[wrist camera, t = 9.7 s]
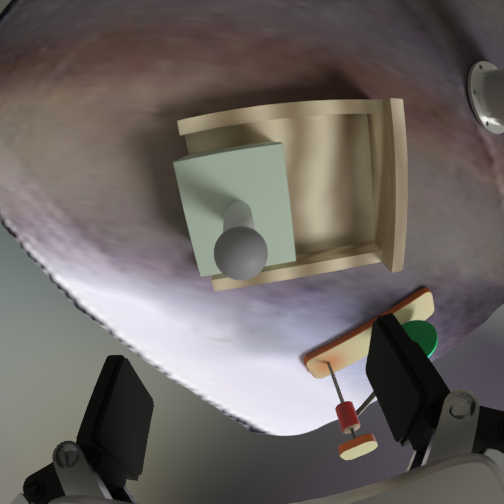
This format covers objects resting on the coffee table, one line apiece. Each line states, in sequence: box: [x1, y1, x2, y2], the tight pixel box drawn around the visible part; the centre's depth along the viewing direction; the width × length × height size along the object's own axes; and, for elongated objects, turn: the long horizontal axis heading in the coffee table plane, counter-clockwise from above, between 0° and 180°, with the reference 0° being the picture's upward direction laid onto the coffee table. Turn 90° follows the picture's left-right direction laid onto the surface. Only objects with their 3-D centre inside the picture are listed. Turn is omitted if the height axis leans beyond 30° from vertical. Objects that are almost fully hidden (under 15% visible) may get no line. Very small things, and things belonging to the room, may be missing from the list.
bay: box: [177, 98, 408, 291], centre depth 30 cm, size 23×20×7 cm
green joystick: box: [173, 141, 296, 280], centre depth 25 cm, size 10×12×17 cm
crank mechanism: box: [304, 288, 438, 460], centre depth 36 cm, size 25×7×19 cm, turn 121°
